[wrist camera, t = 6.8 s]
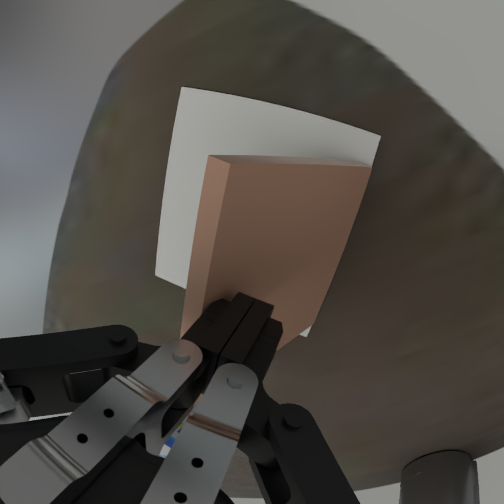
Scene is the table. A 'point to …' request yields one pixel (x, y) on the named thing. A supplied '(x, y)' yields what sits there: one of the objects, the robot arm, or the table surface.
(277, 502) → the robot arm
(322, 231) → the terracotta tile
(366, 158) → the mat
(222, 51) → the table surface
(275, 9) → the table surface
